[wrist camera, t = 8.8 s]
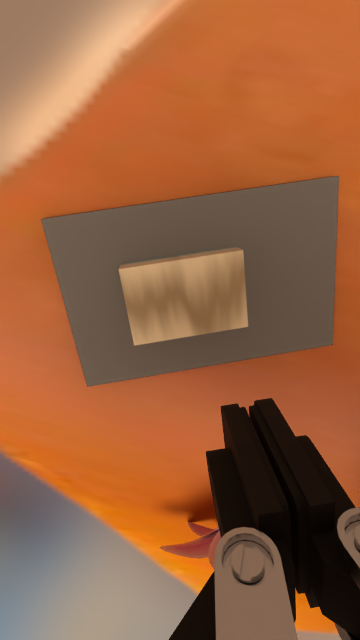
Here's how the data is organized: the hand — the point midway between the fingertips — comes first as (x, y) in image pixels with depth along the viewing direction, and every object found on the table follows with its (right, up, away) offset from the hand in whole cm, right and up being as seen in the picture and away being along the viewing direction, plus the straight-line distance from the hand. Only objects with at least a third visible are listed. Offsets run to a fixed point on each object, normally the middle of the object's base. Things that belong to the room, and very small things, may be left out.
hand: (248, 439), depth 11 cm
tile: (+3, +7, +15) cm, 16 cm away
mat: (0, +7, +16) cm, 18 cm away
